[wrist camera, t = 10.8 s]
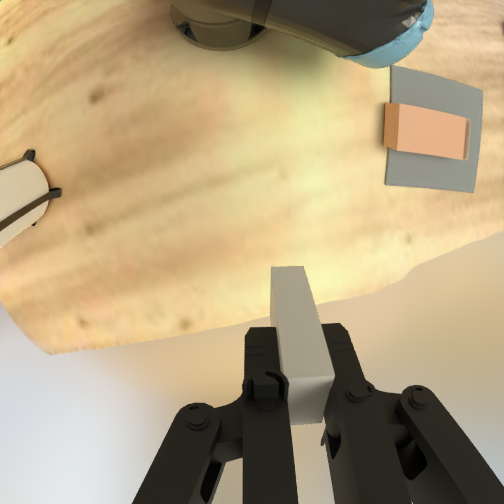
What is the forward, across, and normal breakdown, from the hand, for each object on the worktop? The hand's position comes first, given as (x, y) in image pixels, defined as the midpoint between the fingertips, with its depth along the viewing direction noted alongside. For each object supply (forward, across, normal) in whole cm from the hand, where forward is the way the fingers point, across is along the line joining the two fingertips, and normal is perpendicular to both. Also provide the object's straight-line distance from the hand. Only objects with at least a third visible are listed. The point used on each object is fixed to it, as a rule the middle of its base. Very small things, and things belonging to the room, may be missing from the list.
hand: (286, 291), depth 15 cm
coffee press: (+35, -43, -2) cm, 55 cm away
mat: (+34, +30, +7) cm, 46 cm away
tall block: (+31, +19, +7) cm, 37 cm away
